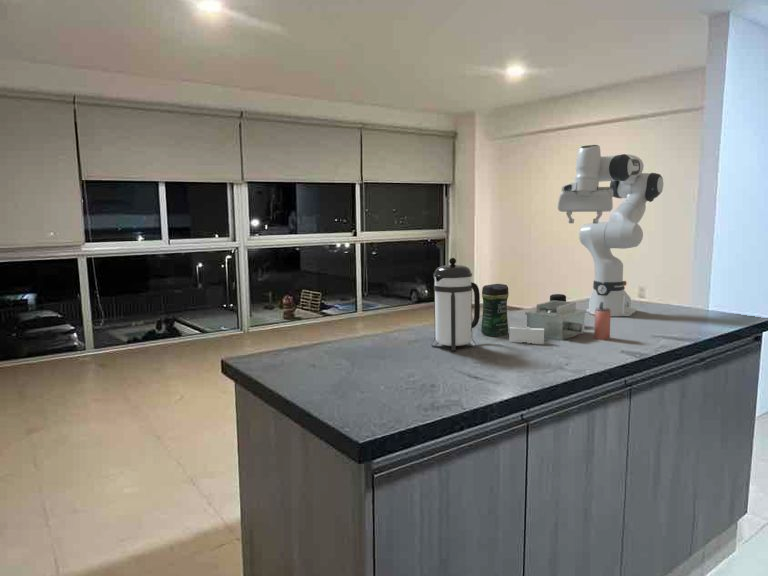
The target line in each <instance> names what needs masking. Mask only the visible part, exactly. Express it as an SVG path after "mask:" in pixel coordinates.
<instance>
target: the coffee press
mask: <svg viewBox="0 0 768 576" xmlns="http://www.w3.org/2000/svg"><path fill="white" fill-rule="evenodd" d="M448 262H449V264H447V265H441V266H439V267H436V269H435V271H434V272H433V279H434V284H433V296H434V297H433V298H434V299H433V304H434V305H433V306H434V307H433V308H434V312H433V314H434V335H435V337H434V338H433V340H432V341H431V344H430V345H431V347H436V346H437V345H438V344H440V345H442V346H448V347H450V348H451V350H450V351H451V352H456V351H457V350H456V346H457V347H458V346H459V347H460V346H465V345H467V344H469V345H470V346H471V347H472V348H474V347H476V345H477V344H476V342H475V340H474V339H473V338H472V333H473V329H474V328H475V327H476V326H477V325H478V324H479V321H480V315H481V312H480V311H481V308H480V307H481V299H480V298H481V297H480V295H481V294H480V288H479V286H478V285H477V283H475V282H472V276H473V273H472V271H471V269H470V267H468V266H466V265H461V264H456V262H457V259H456V258H455V257H451V258H449V260H448ZM473 294H474V295H473ZM473 296H474V297H473ZM473 300H474V301H473ZM473 302H474V303H473ZM473 308H474V309H473ZM473 311H474V312H473ZM473 313H474V316H473ZM435 341H436V342H437V343H435V344H434V345H433V343H434V342H435ZM471 341H473V343H474V345H472V344H471V343H470V342H471Z"/></svg>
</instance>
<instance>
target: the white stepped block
mask: <svg viewBox="0 0 768 576" xmlns="http://www.w3.org/2000/svg"><path fill="white" fill-rule="evenodd" d="M508 333H509V335H508V339H509V340H508V341H509V342H508V343H522V342H527V344H530V343H532V344H535V345H536V344H537V345H544V344H545V337H544V329H543V328H530V327H527V326H509V327H508ZM532 344H531V345H532Z"/></svg>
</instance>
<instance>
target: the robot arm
mask: <svg viewBox="0 0 768 576" xmlns="http://www.w3.org/2000/svg"><path fill="white" fill-rule="evenodd" d="M644 166H645V165H644V162H643V160H642V159H641V158H640V157H638V156H636V155H633V154H625V153H624V154H623V153H621V154H618V155H616V154H615V155H607V156H602V154H601V146H600V145H598V144H590V145H582V146H580V147H579V148H578V152H577V154H576V161H575V172H576V173H575V177H574V182H570V183H568V184H565V185H562V186H561V192H562V193H560V195H559V198H558V200H557V201H558V202H557V210H558V211H559V212H563V213H564V212H565V214H566V216H567V218H568V224H574V223H575V222H574V221H575V218H573V217H572V216H571V215H573V213H574V212H575V213H580V212H581V213H582V212H583V213H584V212H585V213H586V212H587V213H589V212H591V213H593V212H596V215H597V216H596V217H595V218H593V219H592V222H588V223H585V224H583V225H582V226H581V228H580V229H579V232H578V237H579V238H578V239H579V241H580V244H581V245H582V246H584V248H586V249H587V250H588V251H589V252H590V253H589V254H590V255H591V257H592V260H593V263H594V264H593V265H594V280H593V283H592V285H593V286H592V288H593V290H592V291H591V292H590V293H589V294H590V295H589V303H588V308H586V313H589V314H591V315H593V316H595V309H596V308H599V302H603V308H609V309H610V310H611V314H610V317H631V316H632V315H633V314H635V313H636V312H637V308H635V307H632V298H631V297H630V295H629V294H628V293H627V292H626V290H625V289H626V288H625V286H627V280H624V279H623V278H624V264H623V263H624V262H622V260H621V259H620V258H618V257H616V256H614V255H613V253H612V252H611V251H612V250H611V249H618V250H620V249H623V250H625V249H632V248H637V247H638V246H640V244H641V243H642V240H643V238H644V230H643V229H642V227H641V225H639V224H638V223H639V222H640V221H641V220H642V219H643V216H644V214H645V212H646V210H647V209H646V207H647V206H646V203H647V202H649V203H651V202H654V200H655V199H656V198H658V197H659V195H661V193H662V192H663V189H664V178H663V176H662V175H661V174H660V173H656V172H649V173H647V172H643V171H644ZM600 182H602V183H603V182H610V183H609V186H600V185H599V184H600ZM613 198H616V199H624V201H623V202H622V203H620V204H619V205H618V206H617V207H616V208H615V209H614V210H613V207H614V206H613V205H614V203H613ZM612 210H613V211H612ZM611 211H612V213H610V212H611ZM603 212H605V213H606V212H609V213H610V214H609V217H608V221H599V220H600V219H601V217H602V215H603Z"/></svg>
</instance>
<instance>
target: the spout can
mask: <svg viewBox="0 0 768 576" xmlns="http://www.w3.org/2000/svg"><path fill="white" fill-rule="evenodd" d="M610 314H611V310H610V309H609V308H603V302H599V308H596V309H595V315H594V331H593V332H594V335H593V336H594V337H593V338H594V339H595V340H597V341H598V340H599V341H600V340H601V341H608V340H610V338H611V316H610Z"/></svg>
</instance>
